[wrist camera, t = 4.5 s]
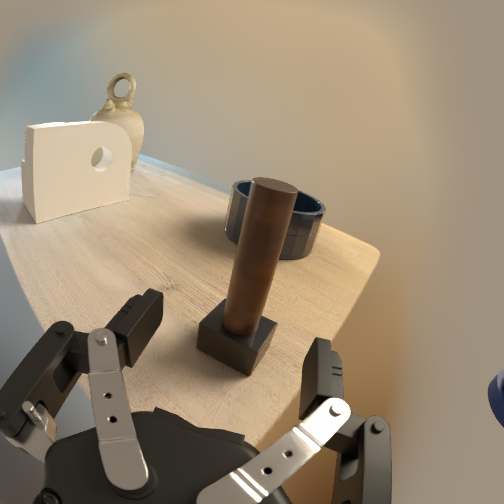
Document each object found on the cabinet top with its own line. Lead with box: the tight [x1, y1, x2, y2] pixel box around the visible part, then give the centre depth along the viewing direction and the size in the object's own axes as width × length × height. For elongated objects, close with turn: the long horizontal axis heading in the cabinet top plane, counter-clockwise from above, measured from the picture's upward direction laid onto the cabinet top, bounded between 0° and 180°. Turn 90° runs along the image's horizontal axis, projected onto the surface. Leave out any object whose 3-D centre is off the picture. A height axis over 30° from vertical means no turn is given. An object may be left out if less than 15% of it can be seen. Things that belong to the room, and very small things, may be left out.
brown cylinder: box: [196, 177, 298, 376], centre depth 19 cm, size 5×4×14 cm
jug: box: [90, 73, 144, 171], centre depth 56 cm, size 15×16×25 cm
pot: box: [225, 180, 326, 260], centre depth 43 cm, size 14×14×7 cm
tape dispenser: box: [21, 121, 132, 224], centre depth 38 cm, size 18×12×14 cm, turn 146°
